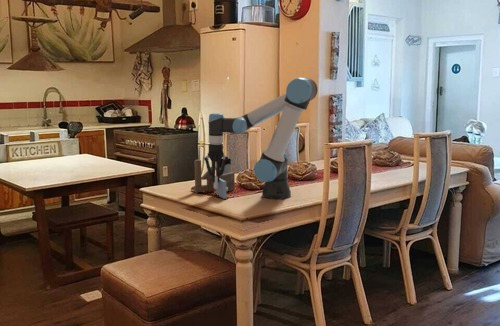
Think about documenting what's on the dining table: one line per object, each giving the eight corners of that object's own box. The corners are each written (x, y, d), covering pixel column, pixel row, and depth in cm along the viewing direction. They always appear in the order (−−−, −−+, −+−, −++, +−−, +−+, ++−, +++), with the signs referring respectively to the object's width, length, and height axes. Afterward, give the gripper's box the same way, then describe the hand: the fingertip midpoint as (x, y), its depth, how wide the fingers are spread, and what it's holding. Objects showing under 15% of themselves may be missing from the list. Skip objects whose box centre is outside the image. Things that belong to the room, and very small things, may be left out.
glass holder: (223, 186, 304) (222, 160, 301) (209, 182, 315) (208, 158, 312) (235, 184, 309) (234, 159, 307) (221, 181, 320) (220, 156, 318)
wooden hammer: (214, 191, 289) (214, 159, 286) (195, 193, 285) (195, 160, 282) (212, 190, 292) (212, 158, 290) (194, 192, 288) (193, 159, 286)
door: (220, 193, 281) (220, 177, 280) (228, 198, 270) (228, 181, 269) (215, 194, 280) (215, 177, 279) (223, 198, 269) (223, 181, 268)
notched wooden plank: (234, 190, 293) (234, 170, 291) (217, 194, 281) (217, 174, 279) (231, 189, 294) (231, 170, 292) (214, 194, 282) (214, 174, 280)
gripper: (225, 142, 275) (225, 186, 279) (201, 142, 271) (201, 187, 274) (229, 144, 268) (229, 189, 272) (205, 144, 264) (205, 190, 267)
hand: (215, 188), depth 273 cm, fingers closed
